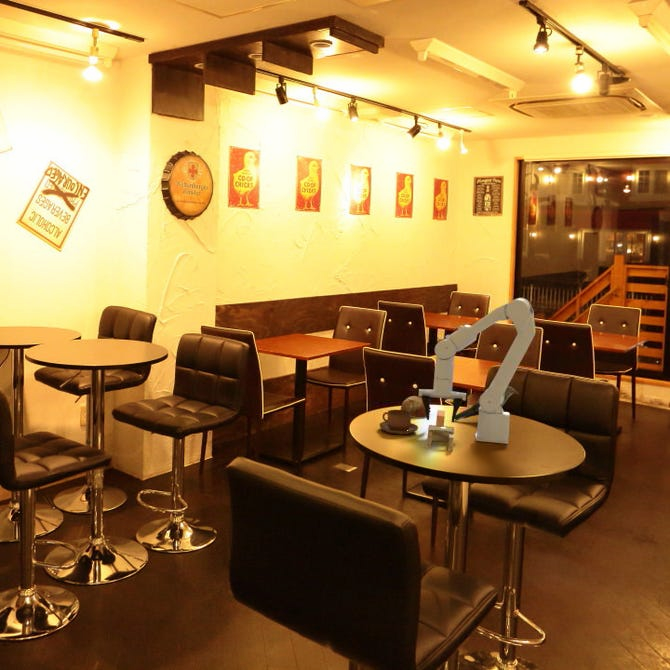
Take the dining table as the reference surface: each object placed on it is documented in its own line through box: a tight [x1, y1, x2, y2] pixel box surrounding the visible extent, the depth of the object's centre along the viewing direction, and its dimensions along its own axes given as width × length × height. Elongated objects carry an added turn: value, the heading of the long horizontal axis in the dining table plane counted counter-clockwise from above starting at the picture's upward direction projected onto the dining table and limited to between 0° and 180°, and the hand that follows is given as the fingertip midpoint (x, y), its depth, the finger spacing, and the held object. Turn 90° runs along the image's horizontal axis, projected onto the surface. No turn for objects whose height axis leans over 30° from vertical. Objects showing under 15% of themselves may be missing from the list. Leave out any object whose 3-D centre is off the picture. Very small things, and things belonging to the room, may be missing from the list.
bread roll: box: [400, 395, 431, 418], centre depth 248 cm, size 10×10×8 cm
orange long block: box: [435, 409, 446, 426], centre depth 225 cm, size 2×8×6 cm, turn 170°
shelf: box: [426, 424, 455, 452], centre depth 212 cm, size 7×12×5 cm, turn 170°
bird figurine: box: [454, 385, 520, 422], centre depth 240 cm, size 13×10×20 cm
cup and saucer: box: [379, 409, 419, 435], centre depth 224 cm, size 12×12×6 cm
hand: (440, 420), depth 225 cm, fingers open, 7 cm apart
